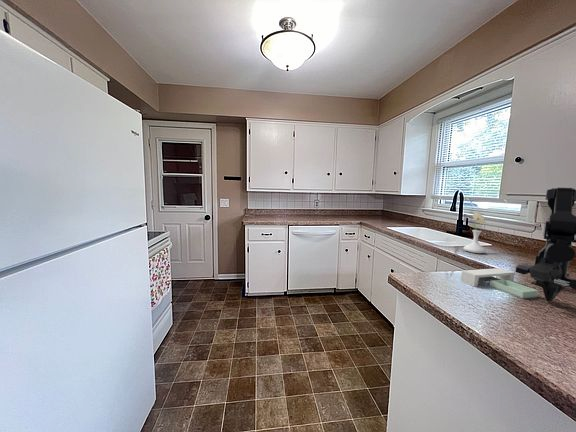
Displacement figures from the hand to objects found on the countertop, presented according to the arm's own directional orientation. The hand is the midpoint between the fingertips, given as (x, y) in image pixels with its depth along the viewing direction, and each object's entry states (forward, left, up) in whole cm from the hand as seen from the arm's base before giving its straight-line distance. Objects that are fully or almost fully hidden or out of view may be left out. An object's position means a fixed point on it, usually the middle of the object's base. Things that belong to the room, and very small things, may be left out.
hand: (548, 301), depth 84 cm
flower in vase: (-48, -62, -1) cm, 79 cm away
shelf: (0, -20, -1) cm, 20 cm away
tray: (0, -11, -1) cm, 11 cm away
